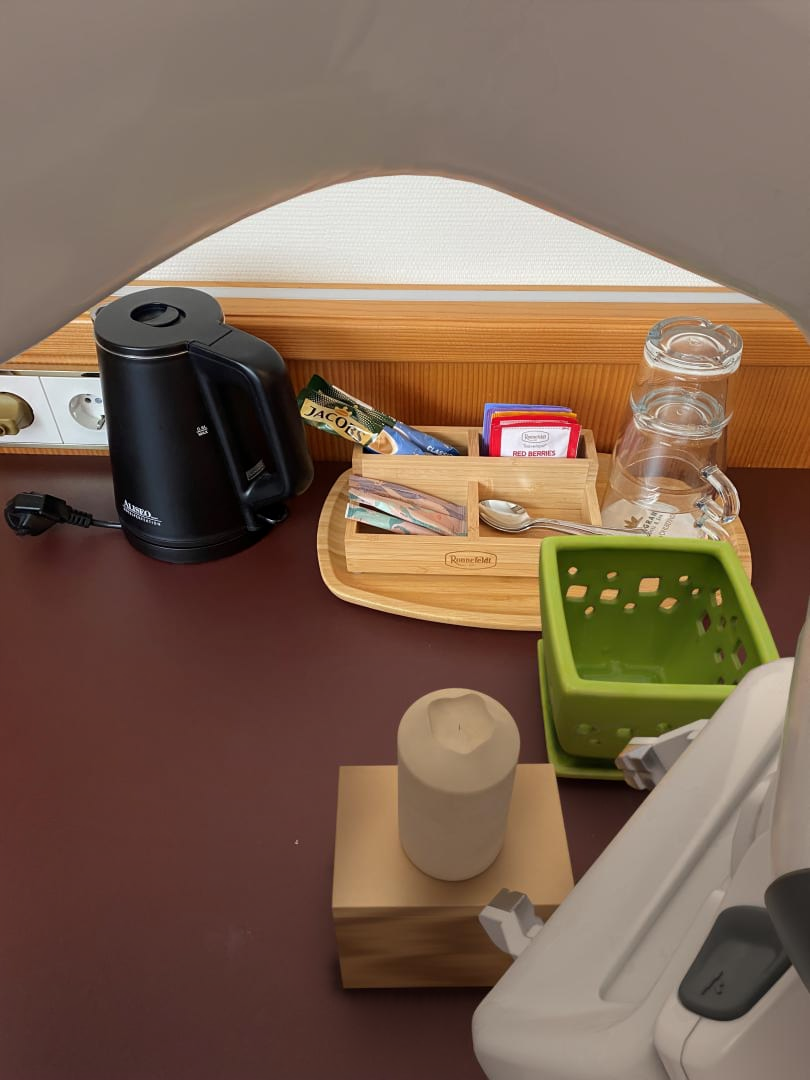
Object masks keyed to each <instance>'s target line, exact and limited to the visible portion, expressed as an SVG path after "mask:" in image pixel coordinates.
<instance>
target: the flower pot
mask: <svg viewBox="0 0 810 1080" xmlns="http://www.w3.org/2000/svg"><path fill="white" fill-rule="evenodd" d="M538 553H539V554H538V592H539V611H540V613H539V614H540V623H541V635H542V638H541V639H538V640H537V643H536V645H537V647H536V648H537V665H538V677H539V678H538V679H539V689H540V690H539V691H540V700H541V708H542V718H543V726H544V736H545V744H546V753H547V759H548V760H547V761H548V764H554V768H555V774H556V778H567V779H585V780H607V781H608V780H609V781H625V779H624V778H623V771H622V770H620V769H618V768H617V766H616V764H615V759H616V758H617V757H618V756H619V754H620V753H621V752H622V751H623V749H624V748H625V747H626V746H627V744H628V743H629V742H630V741H631V739H632V738H634V737H660V735H663V734H665V733H668V732H670V731H673V730H675V729H678V728H680V727H683V726H685V725H688V724H690V723H693V722H695V721H698V720H700V719H711V717H712V716H713V715H714V714H715V712H716V711H717V710H718V709H719V707H720V706H721V705H722V704H723V702H724V701H725V700H726V699H727V697H728V696H729V695H730V694H731V692H732V691H733V690H734V689H735V687H736V686H737V685H738V684H739V682H740V681H741V680H742V679H743V677H744V676H745V675H746V674H747V673H748V672H749V671H750V670H752V669H754V668H756V667H758V666H760V665H763V664H765V663H768V662H770V661H773V660H776V659H780V658H781V657H780V654H779V651H778V649H777V646H776V643H775V641H774V638H773V635H772V632H771V629H770V628H769V625H768V622H767V620H766V617H765V615H764V611H763V610H762V608H761V605H760V603H759V600H758V598H757V596H756V594H755V591H754V589H753V586H752V584H751V582H750V579H749V577H748V575H747V572H746V570H745V568H744V566H743V565H742V564H743V563H742V562H741V560H740V558H739V556H738V554H737V552H736V550H735V548H734V546H733V545H732V544H731V543H729V542H728V541H724V540H717V539H705V538H693V537H692V538H691V537H676V536H675V537H673V536H648V535H622V534H621V535H619V534H617V535H615V534H614V535H613V534H612V535H608V534H607V535H606V534H605V535H602V534H599V535H598V534H573V535H571V534H570V535H553V536H552V535H551V536H546V537H543V538H542V540H541V542H540V547H539V552H538ZM572 568H575V569H576V571H575V572H574V573H571V572H570V570H571V569H572ZM613 573H616V574H615V575H613V576H611V577H608V575H609V574H613ZM682 577H687V578H686V580H680V579H681V578H682ZM644 579H658V584H657V588H656V590H654V591H640V586H641V582H642V581H643V580H644ZM572 586H573V587H574V586H576V587H585V588H586V589H585V592H584V594H583V596H567V595H568V591H569V589H570V588H571V587H572ZM606 590H609V591H610V590H612V591H617V593H616V596H615V597H614V598H612V599H608V598H607V599H606V598H601V596H602V594H603V592H604V591H606ZM695 590H697V591H696V593H694V591H695ZM718 591H720V598H721V603H719V604H718V600H717V596H716V595H717V592H718ZM667 599H673V600H676V601H675V602H674V603H673V604H672V606H671V607H669V608H666V607H663V606H661V605H662V604H663V603H664V601H665V600H667ZM628 604H632V605H634V606H632V607H631V608H627V605H628ZM589 608H592V610H591V611H590V612H589V613H586V611H587V610H588V609H589ZM707 615H708V618H709V622H710V625H709V627H708V628H707V630H706V631H705V628H704V625H703V624H704V623H703V620H704V618H705V617H706V616H707ZM742 646H743V649H744V653H745V656H746V657H745V659H744V661H743V663H742V664H741V662H740V661H741V660H740V658H739V656H738V653H739V650H740V649H741V647H742ZM721 653H722V654H723V658H722V654H721ZM722 682H723V684H722Z"/></svg>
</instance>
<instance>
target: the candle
mask: <svg viewBox="0 0 810 1080" xmlns="http://www.w3.org/2000/svg"><path fill="white" fill-rule="evenodd" d="M520 736H521V735H520V732H519V727H518V725H517V723H516V721H515V720H514V717H513V716H512V715H511V713H510V712H509V711H508V710H507V709H506V707H504V706H503V705H502V704H501V703H500V702H499V701H497V700H496V699H494V698H493V697H492V696H490V695H487V694H485V693H483V692H480V691H478V690H473V689H469V688H462V687H452V688H450V687H449V688H443V689H438V690H434V691H432V692H429V693H427V694H425V695H423V696H421V697H420V698H418V699H417V700H416V701H414V702H413V703H412V704H411V705H410V706H409V707H408V708H407V710H406V711H405V712H404V714H403V716H402V718H401V719H400V722H399V726H398V729H397V742H396V743H397V744H396V745H397V747H396V748H397V765H398V829H399V837H400V841H401V844H402V846H403V849H404V851H405V853H406V855H407V857H408V858H409V859H410V861H411V862H412V863H413V864H414V865H415V866H416V867H417V868H418V869H420V870H421V871H422V872H424V873H426V874H427V875H429V876H432V877H434V878H437V879H440V880H446V881H461V880H466V879H470V878H472V877H475V876H477V875H479V874H481V873H482V872H484V871H485V870H486V869H487V868H488V867H489V866H490V865H491V864H492V863H493V862H494V860H495V859H496V857H497V856H498V854H499V852H500V850H501V847H502V844H503V840H504V835H505V831H506V825H507V819H508V814H509V808H510V802H511V797H512V791H513V785H514V780H515V774H516V769H517V764H519V763H518V762H519V757H520V752H521V737H520Z"/></svg>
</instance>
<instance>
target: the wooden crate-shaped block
mask: <svg viewBox="0 0 810 1080" xmlns="http://www.w3.org/2000/svg"><path fill="white" fill-rule="evenodd" d="M334 836H335V837H334V852H333V853H334V855H333V857H334V858H333V874H332V893H331V913H332V921H333V927H334V934H335V940H336V946H337V955H338V961H339V962H338V963H339V967H340V968H339V969H340V975H341V982H342V988H343V989H379V988H380V989H384V988H389V989H391V988H447V987H448V988H452V987H454V988H456V987H459V988H460V987H494V986H495V985H496V984H497V983H498V981H499V980H500V979H501V978H502V977H503V975H504V974H505V973H506V972H507V970H508V969H509V968H510V967H511V965H512V964H513V963H514V962H515V961H514V959H513V958H512V956H511V954H509V953H506V952H504V951H502V950H501V949H499V948H498V947H497V946H496V945H495V944H494V943H493V941H492V940H491V938H490V937H489V935H488V934H487V932H486V930H485V929H484V927H483V926H482V924H481V922H480V921H479V918H478V915H479V914H480V913H481V912H482V910H483V909H484V908H485V907H486V906H487V905H488V904H489V903H490V902H491V900H492V899H493V898H494V897H495V896H496V895H497V894H498V893H499V892H500V891H501V889H503V888H506V889H509V891H510V892H514V891H517V892H520V893H524V894H526V895H527V897H528V898H529V900H530V901H531V903H532V904H533V906H534V907H535V916H538V917H541V919H542V920H543V922H544V924H545V923H546V922H547V921H548V919H549V918H550V917H551V916H552V914H553V913H554V912H555V911H556V909H557V908H558V907H559V906H560V905H561V903H562V902H563V901H564V900H565V898H566V897H567V896H568V895H569V893H570V892H571V891H572V890H573V888H574V887H575V886H576V884H575V880H574V874H573V868H572V862H571V856H570V851H569V850H570V849H569V845H568V840H567V832H566V827H565V821H564V815H563V810H562V804H561V798H560V792H559V785H558V779H557V776H556V774H555V768H554V764H549V763H517V769H516V774H515V780H514V785H513V791H512V797H511V802H510V808H509V814H508V819H507V825H506V831H505V835H504V840H503V844H502V847H501V850H500V852H499V854H498V856H497V857H496V859H495V860H494V862H493V863H492V864H491V865H490V866H489V867H488V868H487V869H486V870H485V871H484V872H482V873H481V874H479V875H477V876H475V877H472V878H470V879H466V880H461V881H446V880H440V879H437V878H434V877H432V876H429V875H427V874H426V873H424V872H422V871H421V870H420V869H418V868H417V867H416V866H415V865H414V864H413V863H412V862H411V861H410V859H409V858H408V857H407V855H406V853H405V851H404V849H403V846H402V844H401V841H400V837H399V829H398V764H396V765H340V766H339V767H338V781H337V798H336V817H335V835H334Z"/></svg>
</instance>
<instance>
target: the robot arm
mask: <svg viewBox="0 0 810 1080" xmlns="http://www.w3.org/2000/svg"><path fill="white" fill-rule="evenodd" d="M395 176H396V177H398V176H399V177H400V176H414V177H415V176H416V177H433V178H443V179H449V180H455V181H459V182H465V183H469V184H474V185H478V186H481V187H485V188H489V189H491V190H494V191H497V192H499V193H502V194H505V195H507V196H510V197H512V198H513V199H516V200H519V201H521V202H524V203H526V204H528V205H531V206H533V207H535V208H538V209H540V210H543V211H544V212H545V211H546V212H547V213H550V214H552V215H555V216H557V217H559V218H562V219H564V220H566V221H569V222H571V223H574V224H576V225H578V226H580V227H583V228H585V229H588V230H590V231H593V232H595V233H597V234H599V235H602V236H604V237H607V238H609V239H610V240H614V241H616V242H619V243H621V244H623V245H625V246H628V247H630V248H633V249H635V250H638V251H640V252H642V253H645V254H647V255H650V256H652V257H654V258H656V259H659V260H661V261H663V262H666V263H668V264H669V265H670V264H671V265H673V266H675V267H678V268H679V269H682V270H685V271H687V272H688V273H689V272H690V273H692V274H694V275H696V276H699V277H701V278H704V279H706V280H709V281H710V282H713V283H716V284H718V285H720V286H723V287H725V288H728V289H730V290H732V291H734V292H737V293H739V294H742V295H744V296H745V297H749V298H751V299H753V300H755V301H758V302H760V303H762V304H765V305H767V306H770V307H771V308H773V309H775V310H777V311H778V312H780V313H781V314H783V315H784V316H785V317H786V318H787V319H788V320H790V321H791V322H792V323H793V324H794V326H795V327H796V328H797V329H798V331H799V332H800V333H801V335H802V336H803V338H804V339H805V341H806V342H807V344H808V346H809V347H810V0H0V367H1V366H2V365H3V366H4V365H5V364H6V363H9V362H10V361H12V360H13V359H15V358H17V357H19V356H20V355H23V354H25V353H26V352H27V351H29V350H31V349H33V348H34V347H37V345H39V344H40V343H42V342H44V341H45V340H46V339H48V338H50V337H51V336H53V335H54V334H55V333H57V332H59V331H60V330H61V329H63V328H64V327H66V326H67V325H69V324H70V323H72V322H73V321H75V320H76V319H77V318H79V317H80V316H81V315H83V314H84V313H86V312H87V311H89V310H91V309H92V308H94V307H95V306H97V305H98V304H100V303H101V302H103V301H104V300H105V299H108V298H109V297H110V296H112V295H113V294H115V293H116V292H118V291H120V290H121V289H123V288H124V287H125V286H127V285H129V284H130V283H132V282H133V281H135V280H136V279H138V278H140V277H141V276H142V275H144V274H146V273H148V272H149V271H151V270H152V269H154V268H156V267H158V266H159V265H161V264H163V263H165V262H166V261H168V260H170V259H171V258H173V257H175V256H177V255H178V254H180V253H182V252H183V251H185V250H186V249H187V250H188V249H189V248H190V247H192V246H193V245H195V244H197V243H199V242H201V241H203V240H205V239H208V238H209V237H211V236H213V235H216V234H217V233H219V232H221V231H223V230H225V229H227V228H229V227H231V226H233V225H235V224H237V223H239V222H240V221H242V220H245V219H247V218H249V217H252V216H254V215H256V214H259V213H260V212H263V211H266V210H267V209H270V208H272V207H275V206H278V205H280V204H282V203H285V202H288V201H290V200H293V199H296V198H298V197H300V196H303V195H307V194H310V193H314V192H317V191H319V190H322V189H327V188H330V187H333V186H336V185H341V184H346V183H350V182H356V181H361V180H367V179H371V178H382V177H383V178H385V177H395ZM805 615H806V616H805V621H804V623H803V626H802V628H801V630H800V632H799V633H798V637H797V642H796V648H795V655H794V656H788V657H787V656H786V657H780V659H776V660H773V661H770V662H768V663H765V664H763V665H760V666H758V667H756V668H754V669H752V670H750V671H749V672H748V673H747V674H746V675H745V676H744V677H743V679H742V680H741V681H740V682H739V684H738V685H737V686H736V687H735V689H734V690H733V691H732V692H731V694H730V695H729V696H728V697H727V699H726V700H725V701H724V702H723V704H722V705H721V706H720V707H719V709H718V710H717V711H716V712H715V714H714V715H713V716H712V717H711V719H700V720H698V721H695V722H693V723H690V724H688V725H685V726H683V727H680V728H678V729H675V730H673V731H670V732H668V733H665V734H663V735H660V737H634V738H632V739H631V741H630V742H629V743H628V744H627V746H626V747H625V748H624V749H623V751H622V752H621V753H620V754H619V756H618V757H617V758H616V759H615V764H616V766H617V768H618V769H620V770H622V771H623V778H624V779H625V780H624V781H625V782H626V785H628V786H630V787H631V788H632V789H634V790H638V791H643V790H645V789H647V790H648V792H650V793H649V794H648V795H647V796H646V798H645V799H644V800H643V802H642V803H641V804H640V805H639V807H638V808H637V809H636V810H635V811H634V813H632V815H631V816H630V818H629V819H628V820H627V822H626V823H624V825H623V826H622V828H621V829H620V830H619V831H618V833H617V834H616V835H615V836H614V837H613V838H612V840H611V841H610V843H609V844H608V845H607V846H606V848H605V849H604V850H603V851H602V852H601V854H600V855H599V856H598V857H597V858H596V860H595V861H594V862H593V864H591V866H590V867H589V869H588V870H587V871H586V872H585V873H584V874H583V875H582V877H581V879H580V880H579V881H578V882H577V883H576V884H575V887H574V888H573V890H572V891H571V892H570V893H569V895H568V896H567V897H566V898H565V900H564V901H563V902H562V903H561V905H560V906H559V907H558V908H557V909H556V911H555V912H554V913H553V914H552V916H551V917H550V918H549V919H548V921H547V922H546V923H545V924H544V922H543V920H542V919H541V917H538V916H535V907H534V906H533V904H532V903H531V901H530V900H529V898H528V897H527V895H526V894H524V893H520V892H517V891H514V892H510V891H509V889H506V888H503V889H501V891H500V892H499V893H498V894H497V895H496V896H495V897H494V898H493V899H492V900H491V902H490V903H489V904H488V905H487V906H486V907H485V908H484V909H483V910H482V912H481V913H480V914H479V915H478V918H479V921H480V922H481V924H482V926H483V927H484V929H485V930H486V932H487V934H488V935H489V937H490V938H491V940H492V941H493V943H494V944H495V945H496V946H497V947H498V948H499V949H501V950H502V951H504V952H506V953H509V954H511V956H512V958H513V959H514V961H515V962H514V963H513V964H512V965H511V967H510V968H509V969H508V970H507V972H506V973H505V974H504V975H503V977H502V978H501V979H500V980H499V981H498V983H497V984H496V985H495V986H493V987H492V989H491V990H490V991H489V992H488V993H487V994H486V996H485V997H484V998H483V999H482V1000H481V1001H480V1003H479V1005H478V1006H477V1007H476V1009H474V1010H475V1011H474V1012H473V1014H472V1017H471V1036H472V1044H473V1045H472V1046H473V1047H472V1048H473V1052H474V1055H475V1057H476V1060H477V1062H478V1064H479V1065H480V1067H481V1069H482V1071H483V1072H484V1074H485V1076H486V1077H487V1079H488V1080H810V596H809V597H808V603H807V609H806V614H805Z"/></svg>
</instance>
